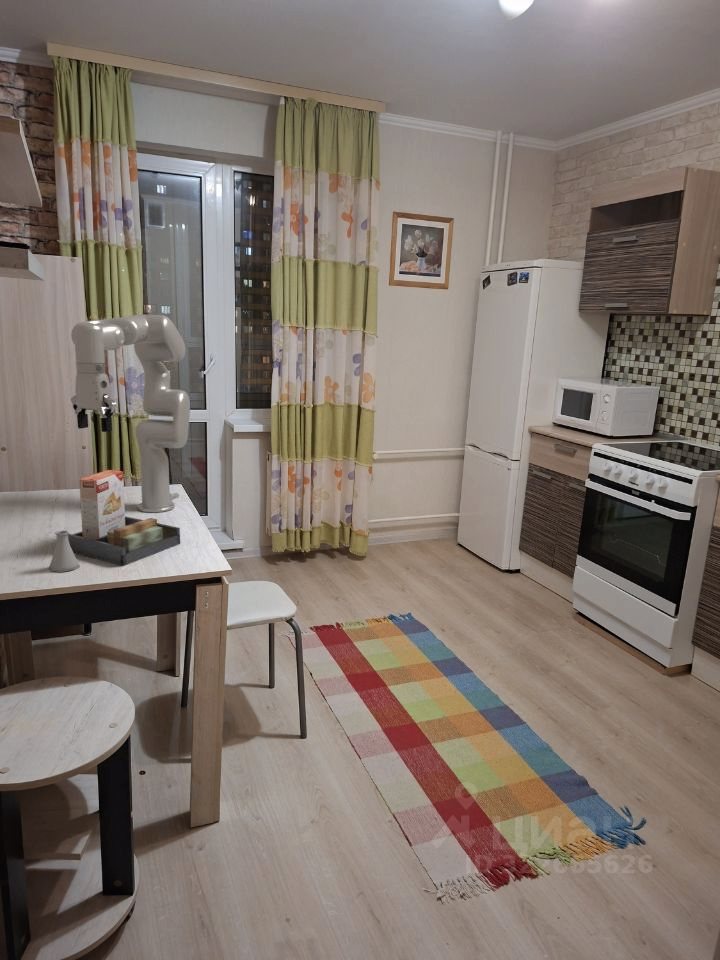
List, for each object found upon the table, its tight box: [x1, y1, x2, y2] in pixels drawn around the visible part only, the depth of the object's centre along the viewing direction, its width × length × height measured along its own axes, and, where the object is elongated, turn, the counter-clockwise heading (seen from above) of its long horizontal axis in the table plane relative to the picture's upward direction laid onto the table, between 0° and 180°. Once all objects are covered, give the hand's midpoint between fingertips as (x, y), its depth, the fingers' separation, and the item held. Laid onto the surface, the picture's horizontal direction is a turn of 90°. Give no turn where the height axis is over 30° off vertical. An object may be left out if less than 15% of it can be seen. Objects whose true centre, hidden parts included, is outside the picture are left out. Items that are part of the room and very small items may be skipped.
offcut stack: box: [107, 517, 163, 552], centre depth 188 cm, size 14×8×8 cm, turn 153°
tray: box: [68, 515, 181, 566], centre depth 191 cm, size 22×26×5 cm
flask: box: [48, 529, 81, 573], centre depth 173 cm, size 7×7×10 cm
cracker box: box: [79, 469, 126, 539], centre depth 192 cm, size 14×6×21 cm, turn 168°
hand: (94, 429), depth 187 cm, fingers open, 9 cm apart
